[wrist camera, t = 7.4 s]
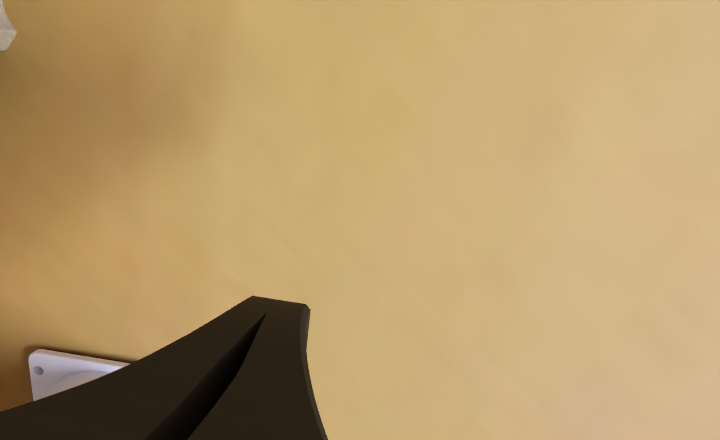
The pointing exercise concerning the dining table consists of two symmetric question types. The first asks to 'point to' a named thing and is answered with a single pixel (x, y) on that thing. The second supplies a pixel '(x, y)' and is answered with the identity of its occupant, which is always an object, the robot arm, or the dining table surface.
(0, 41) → the egg carton
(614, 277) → the dining table surface
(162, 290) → the dining table surface
